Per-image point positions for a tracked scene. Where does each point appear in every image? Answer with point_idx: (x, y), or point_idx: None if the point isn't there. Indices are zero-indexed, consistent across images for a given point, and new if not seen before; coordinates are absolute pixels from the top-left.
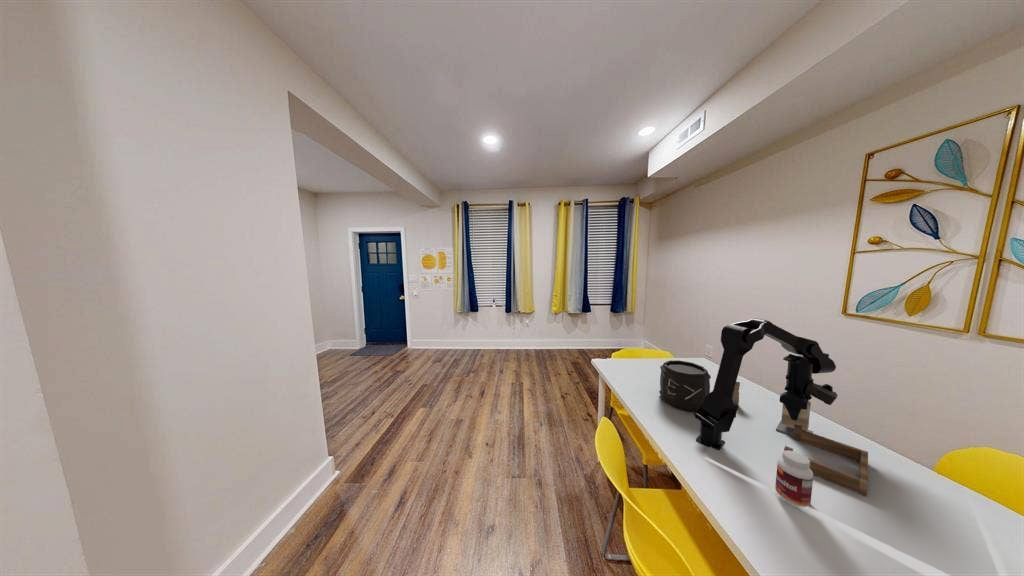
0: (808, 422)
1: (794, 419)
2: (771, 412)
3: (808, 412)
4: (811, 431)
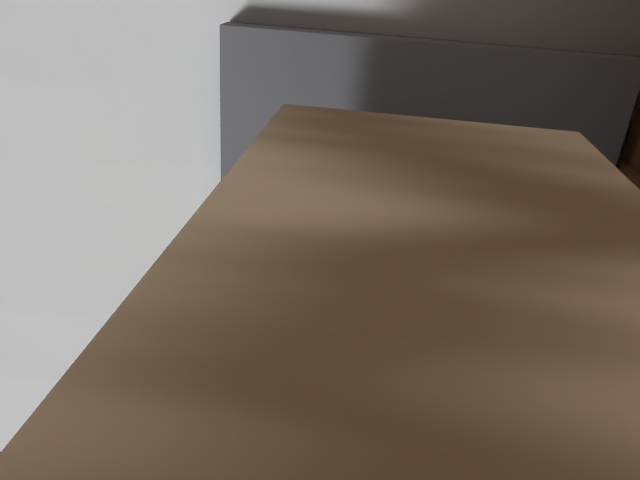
0: (368, 150)
1: None
2: (26, 410)
3: None
4: (251, 44)
